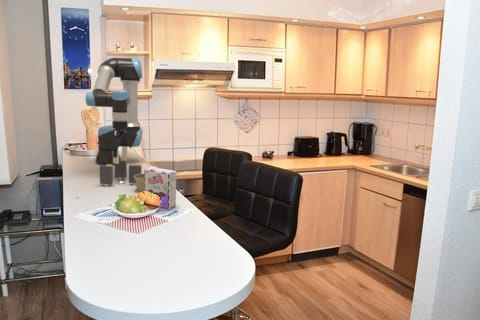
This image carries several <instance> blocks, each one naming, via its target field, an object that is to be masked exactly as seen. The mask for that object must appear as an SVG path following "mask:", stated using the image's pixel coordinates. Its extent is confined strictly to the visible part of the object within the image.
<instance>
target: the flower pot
mask: <svg viewBox="0 0 480 320" xmlns="http://www.w3.org/2000/svg"><path fill="white" fill-rule="evenodd" d="M134 178H135V180H136V185H135V186H136V190H137V192H139V193H142V192H141V191H144V173H142V174H137V175H135V176H134Z"/></svg>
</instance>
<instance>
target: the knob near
mask: <svg viewBox="0 0 480 320" xmlns="http://www.w3.org/2000/svg"><path fill="white" fill-rule="evenodd" d="M127 159H128V158H127ZM127 159H125V158H121V160H119V164H115V163H114V165H113V171H114V178H118V180H124V179H127V177H128V161H127Z"/></svg>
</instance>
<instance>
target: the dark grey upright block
mask: <svg viewBox="0 0 480 320" xmlns="http://www.w3.org/2000/svg"><path fill="white" fill-rule="evenodd" d="M99 184H100V185H104V187H110V185H114V165H109V164H107V165H100V166H99Z"/></svg>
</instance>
